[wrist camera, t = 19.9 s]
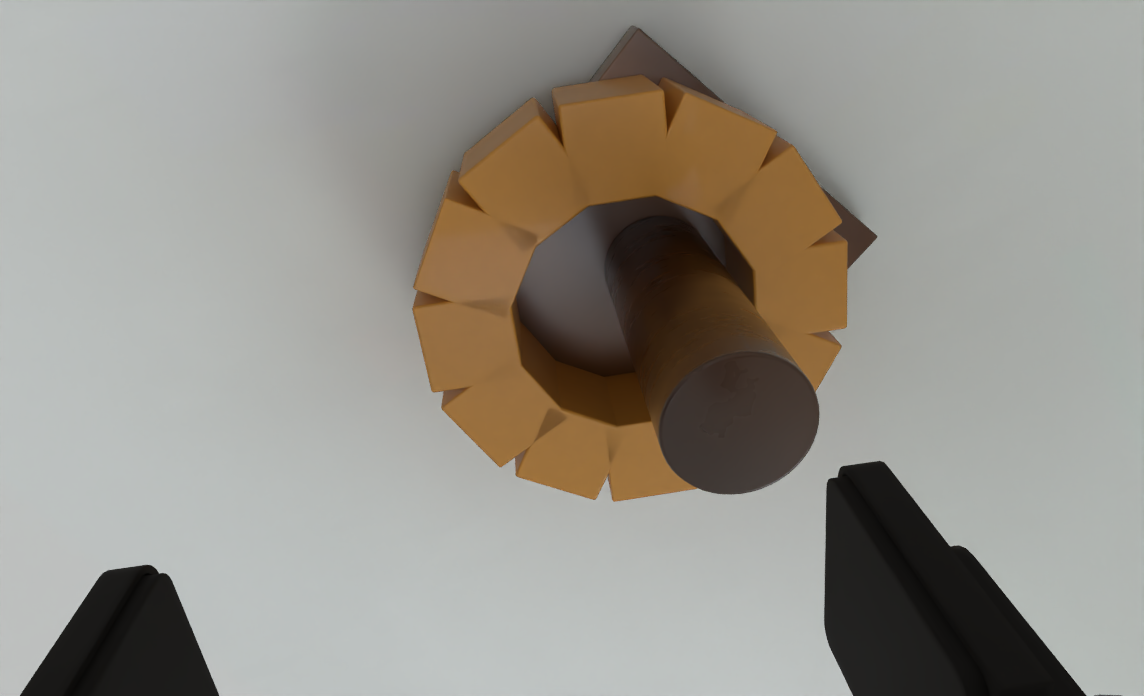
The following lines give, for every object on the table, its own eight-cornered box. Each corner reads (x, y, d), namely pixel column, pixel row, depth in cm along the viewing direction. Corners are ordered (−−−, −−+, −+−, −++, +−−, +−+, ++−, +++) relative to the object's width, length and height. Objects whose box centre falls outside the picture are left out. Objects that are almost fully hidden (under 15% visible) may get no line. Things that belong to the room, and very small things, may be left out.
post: (631, 24, 22) (727, 63, 12) (861, 225, 24) (1081, 379, 15) (436, 283, 24) (393, 476, 15) (664, 437, 27) (748, 681, 18)
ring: (805, 49, 21) (850, 60, 18) (810, 413, 26) (847, 466, 23) (387, 112, 21) (370, 133, 18) (467, 467, 25) (463, 526, 23)
